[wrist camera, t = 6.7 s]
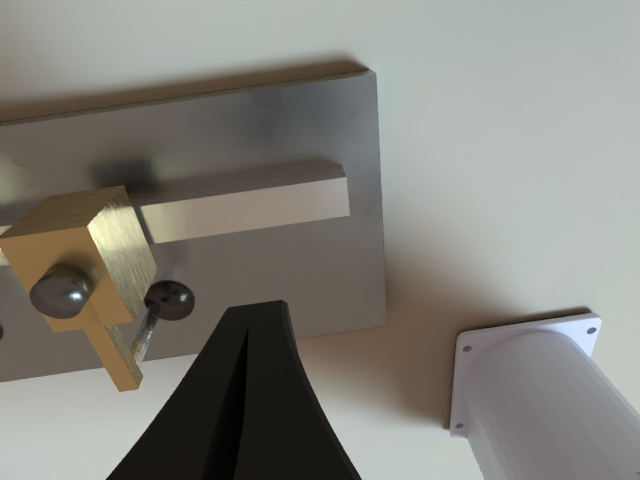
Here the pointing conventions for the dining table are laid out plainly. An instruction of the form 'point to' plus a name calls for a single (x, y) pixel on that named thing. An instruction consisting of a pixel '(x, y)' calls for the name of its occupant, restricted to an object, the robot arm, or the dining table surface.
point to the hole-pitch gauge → (212, 211)
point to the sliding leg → (88, 272)
